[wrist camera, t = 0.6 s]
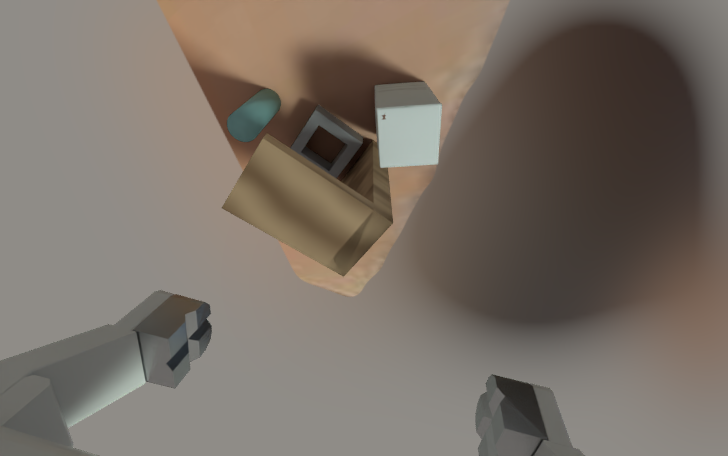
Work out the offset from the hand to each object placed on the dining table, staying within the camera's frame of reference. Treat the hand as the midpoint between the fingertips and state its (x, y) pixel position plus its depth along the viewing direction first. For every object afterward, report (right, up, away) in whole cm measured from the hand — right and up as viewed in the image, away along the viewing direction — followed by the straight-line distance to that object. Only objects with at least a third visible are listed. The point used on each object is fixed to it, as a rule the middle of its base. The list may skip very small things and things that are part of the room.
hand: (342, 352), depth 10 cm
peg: (-13, +22, +41) cm, 48 cm away
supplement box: (+6, +21, +42) cm, 47 cm away
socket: (-5, +17, +44) cm, 48 cm away
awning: (-5, +17, +44) cm, 48 cm away
